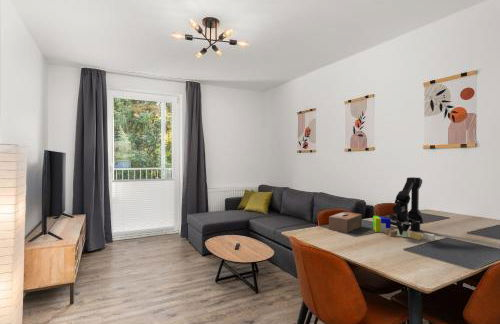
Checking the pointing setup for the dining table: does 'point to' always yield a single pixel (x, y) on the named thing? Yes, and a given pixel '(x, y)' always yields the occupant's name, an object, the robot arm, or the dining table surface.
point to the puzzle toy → (381, 223)
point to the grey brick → (428, 236)
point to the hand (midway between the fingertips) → (402, 234)
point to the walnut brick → (389, 232)
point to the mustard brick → (415, 235)
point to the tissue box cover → (345, 221)
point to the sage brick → (404, 234)
